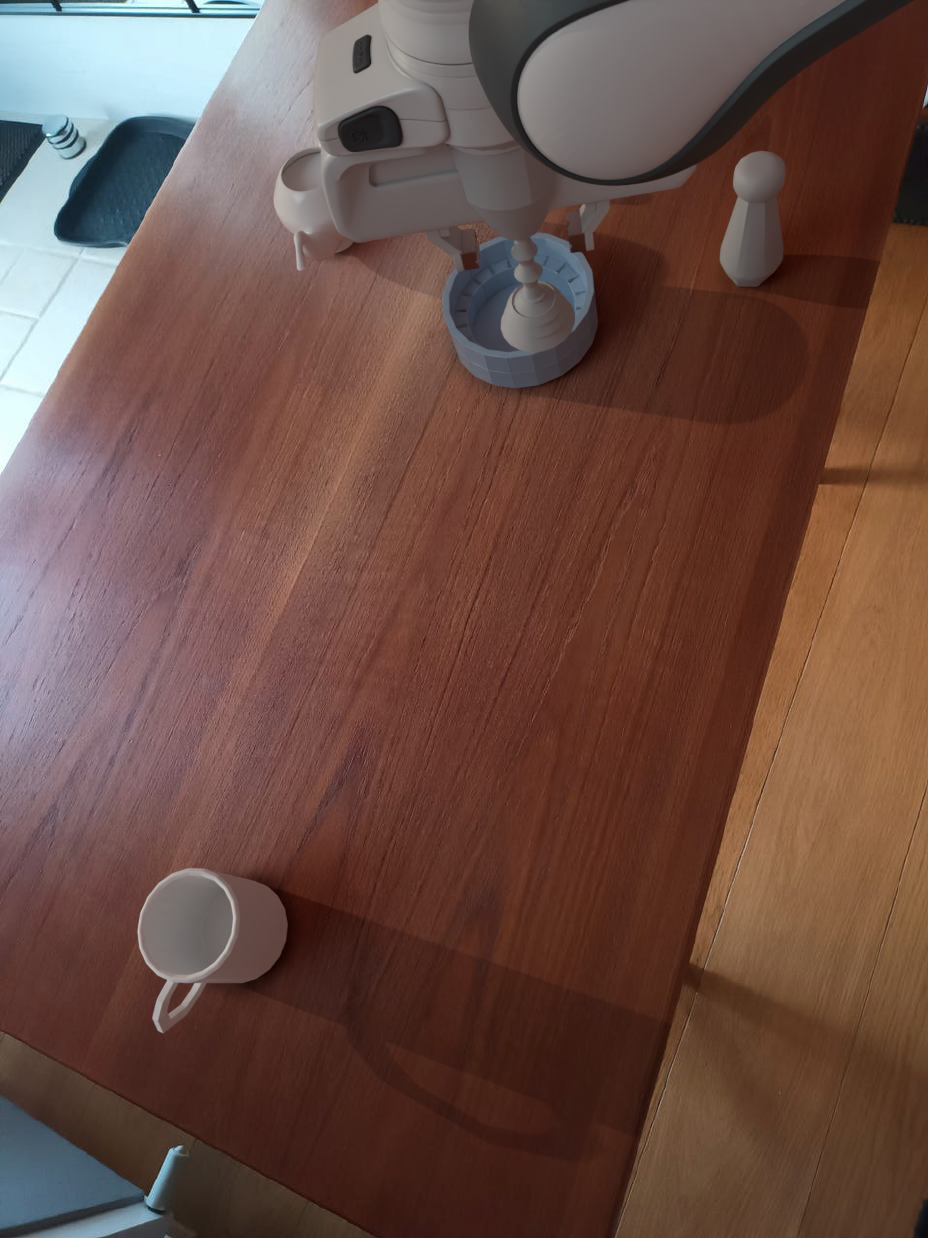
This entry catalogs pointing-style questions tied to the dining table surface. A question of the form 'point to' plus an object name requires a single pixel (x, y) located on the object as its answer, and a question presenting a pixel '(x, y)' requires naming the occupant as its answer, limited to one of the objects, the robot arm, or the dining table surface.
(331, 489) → the dining table surface
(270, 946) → the mug
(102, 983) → the dining table surface
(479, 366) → the bowl
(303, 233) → the teapot
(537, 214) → the chalice
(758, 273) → the salt shaker
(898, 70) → the dining table surface
